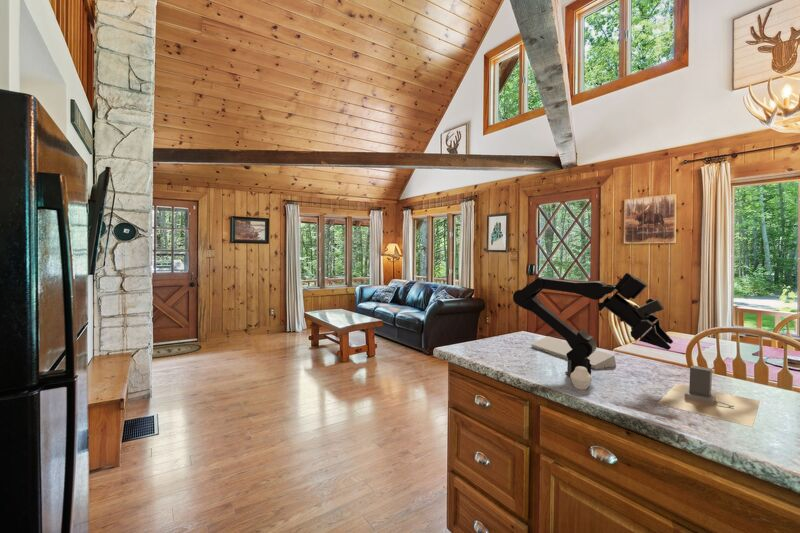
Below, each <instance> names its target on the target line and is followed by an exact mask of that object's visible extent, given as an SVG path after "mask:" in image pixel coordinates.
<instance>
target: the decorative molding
mask: <svg viewBox="0 0 800 533" xmlns="http://www.w3.org/2000/svg"><path fill="white" fill-rule="evenodd" d="M530 345H531V347H532V348H533V347H535V348H534V349H536V348H537V350H539V349H540V350H539V351H542V350H543V351H542V352H544V351H545V353H547V352H548V354H550V353H551V355H553V354H554V355H553V356H557V357H560V358H562V359H565V360H568V358H567V355H566V354H567V353H568V352H569V351H571V350H572V348H571V347H570V346H569V344H568V343H567V341H565V340H562V339H558V338H555V337H552V336H549V335H548V336H545V337H543V338H540V339H539V340H536V341H534V342H532V343H530ZM588 359H589V360H590V364H591V369H593V370H594V369H595V370H601V369H606V368H614V367H617V362H616V358H615V355H614V354H610V353H607V352H605V351H600V350H597V349H596V350H595V351H594V352H593V353H592V354H591V355H590V356H589V357H588Z"/></svg>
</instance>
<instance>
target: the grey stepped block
mask: <svg viewBox="0 0 800 533" xmlns="http://www.w3.org/2000/svg"><path fill="white" fill-rule="evenodd" d="M712 378H713V368H710V367H703V366H698V365H694V364H693V365H691V366H690V367H689V385H688V386H689V389H688V390H687V391H686V392H685V397H684V400H687V401H692V402H696V403H700V404H705V405H709V406H712V405H713V404H714V402H715V400H716V394H714V393H711V391H712V386H713V384H712V383H713V382H712V381H713V379H712Z"/></svg>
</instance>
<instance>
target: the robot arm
mask: <svg viewBox="0 0 800 533" xmlns="http://www.w3.org/2000/svg"><path fill="white" fill-rule="evenodd" d="M647 287H648V284H647V283H645V281H643V280H642V279H640V278H639V277H636V276H635V275H633V274H630V273H629V272H625V274H624V275H623V276H622V278H621V279H620V280H619V281H618V282H617V283H616V284H607V283H606V282H604V281H601V280H597V281H595V280H594V281H572V280H564V279H563V280H562V279H556V278H548V277H543V276H541V277H537V278H535V279H534V280H533V281H532V282H531V283H529V284H528V285H525V287H523V288H522V289H518V290H515V291H514V293H513V295H512V300H513V303H514V304H516V305H517V306H519V307H521V308H522V309H524V310H527V311H528V312H529V311H530V312H531V313H533V314H534V315H535V316H536V317H538V319H540V320H542V322H544V324H547V326H549V327H550V328H551V329H552V330H554V331H555V333H557V334H558V335H560V336H561V337H562V338H563V339H564V341H565V340H566V342H567V343H568V344H569V346H570V347H571V348H572V350H571V351H569V352H568V353H567V354H566V355H567V358H568V359H567V370H566V371H565V372H564V373H565V374H566V375H567V376H568V377H570V374H571V373H572V372H573V371H574V370H575V368H576V367H577V366H583V367H585V368H586V369H587V372H588V373H589V374H590V375H591V376H592V368H591V364H590V360H589V359H588V357H589V356H590V355H591V354H592V353H593V352H594V351H595V350H597V342H596V340H595V339H594V336H593V335H590V334H589V333H588V332H587V331H586V330H584V329H582V330H580V331H578V330H576V329H574V328H573V327H572V326H571V325H569V324H567V322H565V321H564V320H563V319H562V318H560V317H559V316H558V315H556V314H555V313H554V312H553V311H551V310H550V309H549V308H547V306H545V305H544V304H543V303H542V302H541V300H540V299H539V297H538V294H540V293H541V292H542V291H543V290H549V291H556V292H563V293H564V292H566V293H571V294H576V295H579V296H582V297H585V298H587V299H591V300H593V301H594V300H595V301H597V300H598V301H599V300H601V299H603V301H599V302H597V306H598V311H599V312H601V311H603V310H604V309H606V310H608V311H609V312H611V313H612V314H613V315H614V316H616V317H617V318H618V320H619V322H621V323H623V322H624V323H625V324H626V325H628V326H629V327H630V328H631V329H630V330H631V331H630V337H631V338H633V339H634V340H635V341H639V342H642V343H645V344H649V345H652V346H655V347H658V348H661V349H664V350H667V351H669V350H670V349H671V348H672V346H671V344H673V343H674V340H673V339H672V338H671V337H670V335H668V334H667V333H666V331H665V330H664V329H663V328H662V326H661V322H660V321H661V320H660V318H659V316H657V315H656V314H655V313H656V312H660V311H663V310H664V309H665V307H664V305H662V303H661V301H660V300H659V299H658V298H657V299H654V298H652V297H650V298H649V299H646V300H645V303H646V304H644V305H641V306H638V305H636V304H634V305H633V304H632V303H630V301H628V300H631V299H632V300H635V299H636V298H638V296H639V295H640V294H641V293H642V292H643V291H644V290H645V289H646V288H647ZM614 292H615V293H614ZM612 293H614V294H613V295H612V296H611V295H609V294H612ZM605 297H606V298H605ZM604 298H605V299H604ZM669 344H670V345H669Z"/></svg>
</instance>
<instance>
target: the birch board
mask: <svg viewBox="0 0 800 533" xmlns="http://www.w3.org/2000/svg"><path fill="white" fill-rule="evenodd" d="M689 386H690V385H685V384H683V383H682V384H680V383H675V384H674V385H673V387H671V389H670V390H668V391H667V393H666V394H665V395H664V396H663V397H662V398H661V399H660V400H659V401H658V402H657V405H661V406H666V407H669V408H674V409H678V410H681V411H686V412H690V413H693V414H698V415H702V416H707V417H709V418H714V419H718V420H722V421H726V422H730V423H734V424H737V425H742V426H746V427H751V428H753V426H754V422H755V419H756V416H757V412H758V409H759V405H760V400H758V399H753V398H748V397H744V396H739V395H733V394H729V393H724V392H719V391H714V390H711V393H714V394H716V400H715V402H714V404H713V405H712V406H709V405H705V404H700V403H696V402H692V401H687V400H684V397H685V392H686V391H687V390H688V389H689Z"/></svg>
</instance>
